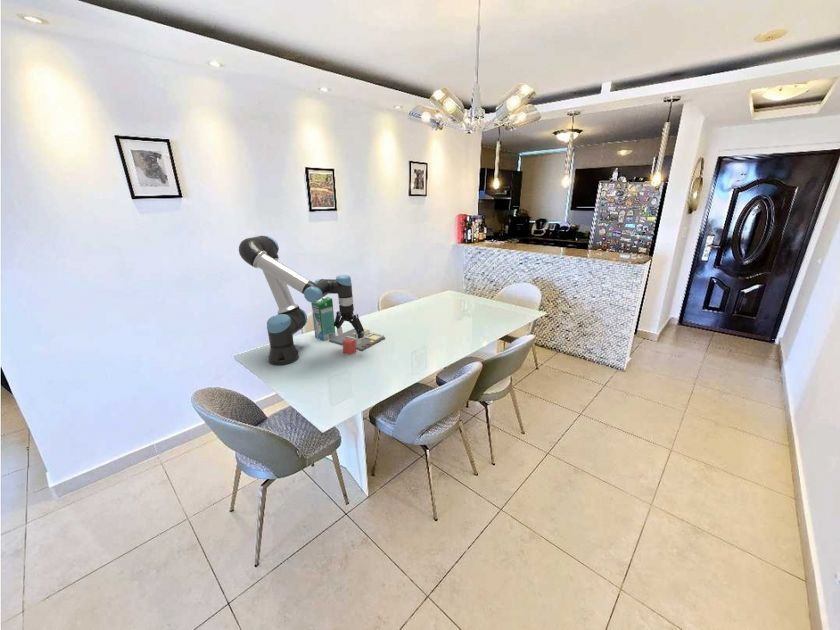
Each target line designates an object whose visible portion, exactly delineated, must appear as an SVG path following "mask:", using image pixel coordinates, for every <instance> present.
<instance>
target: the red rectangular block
mask: <svg viewBox="0 0 840 630" xmlns="http://www.w3.org/2000/svg"><path fill="white" fill-rule="evenodd" d="M342 342H343V345H342V352H343V353H344V354H346V355H349V356H351V355H352V354H355V353H357V350H356V341H355V340H353V339H350V338H348V339H346V340H344V341H342Z"/></svg>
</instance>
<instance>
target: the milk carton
mask: <svg viewBox="0 0 840 630" xmlns="http://www.w3.org/2000/svg"><path fill="white" fill-rule="evenodd" d="M310 303H311V311H312V318H313V321H312V322H313V328H314V337H315V338H316V339H319V340H320V341H322V342H324V341H327V340H329V339H331V338H334V337H336V336H337V335H336V326H334V322H335V314H334V302H333V298H332V297H329V296H327V295H326V296H324V297H322V298H321V299H320V300H318V301H316V302H310Z"/></svg>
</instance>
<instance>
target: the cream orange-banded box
mask: <svg viewBox="0 0 840 630" xmlns="http://www.w3.org/2000/svg"><path fill="white" fill-rule="evenodd" d="M363 329H364V331H363V332H362V333H364V336H367V335H369V334H370V333H371V330H370V328H363Z"/></svg>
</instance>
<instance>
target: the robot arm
mask: <svg viewBox="0 0 840 630" xmlns="http://www.w3.org/2000/svg"><path fill="white" fill-rule="evenodd" d="M279 248H280V247H279V244H278V242H277V240H276V239H274V238H273V237H272V236H269V235H258V236H254V237H248V238H245V239H243V240H242V241H241V242H240V243H239V245H238V254H239V256H240V257H241V259H242V260H243V261H244V262H246V264H248V265H249V266H251V267H253V268H254V269H258V268H259V269H261V271H262V272H263V275H264V276H265V280H266V282H267V284H268V286H269V289H270V291H271V294H272V296H273V298H274V300H275V303H276V305H277V307H278V311H277V314H276V315H273V316H271V317H269V318H268V319H267V321H266V330H267V334H268V340H269V346H270V347H269V353H268V362H269V364H271V365H275V366H285V365H290V364H292V363H294V362H296V361H297V360H298V359H299V357H300V353H299V351H298V349H297V347H296V345H295V344H294V336H293V335H294V334H296V333H298V332H299V331H301V330H302V329H303V328H304V327H305V326H306V324H307V322H308V315H307V313H306V311H305V310H304V309H302V308H300V306H299V304H297V303H295V302H294V299H293V296H292V294H291V291H290V289H289V287H288V286H290V287H291V288H292V289H294V290H295V291H298V292H299V293H301V294H303V297H304V298H305V300H306V301H307V302H309V303H311V302H316V301H318V300H320V299H321V298H322V297H324V296H326V297H327V295H329V294H330V295H331V294H334V295H335V294H336V295H337V298H338V307H339V310H338V311H336V315H335V318H334V326H335V329H336V331H337V336H338V337H339V339H342V338H343V333H344V332H343V327H342V325H343V323H344V322H347V323H349V324H351V326H352V328H353V329H355V330H356V332H357V333H356V340H357V344H360V343H361V332H363V331H364V329H365V328H364V327H363V324H362V322H361V321H360V317H359V314H358V313H356V314H354V310H355V305H354V298H353V283H352V278H351V276H350V275H348V274H340V275H336V279H335V278H334V279H332V278H331V279H330V278H327V279H326V278H322V279H321V278H318V279H316V280H315V281H314V282H313V281H312V280H311V279H309V278H307V277H305V276H303V275H302V274H301V273H298V272H297V271H295V270H293V269H292V268H290V267H289V266H287V265H285V264H283V263H281V262H280V261H279V259H280V257H279V255H278V253H279V251H280V250H279ZM358 330H359V331H358Z"/></svg>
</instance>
